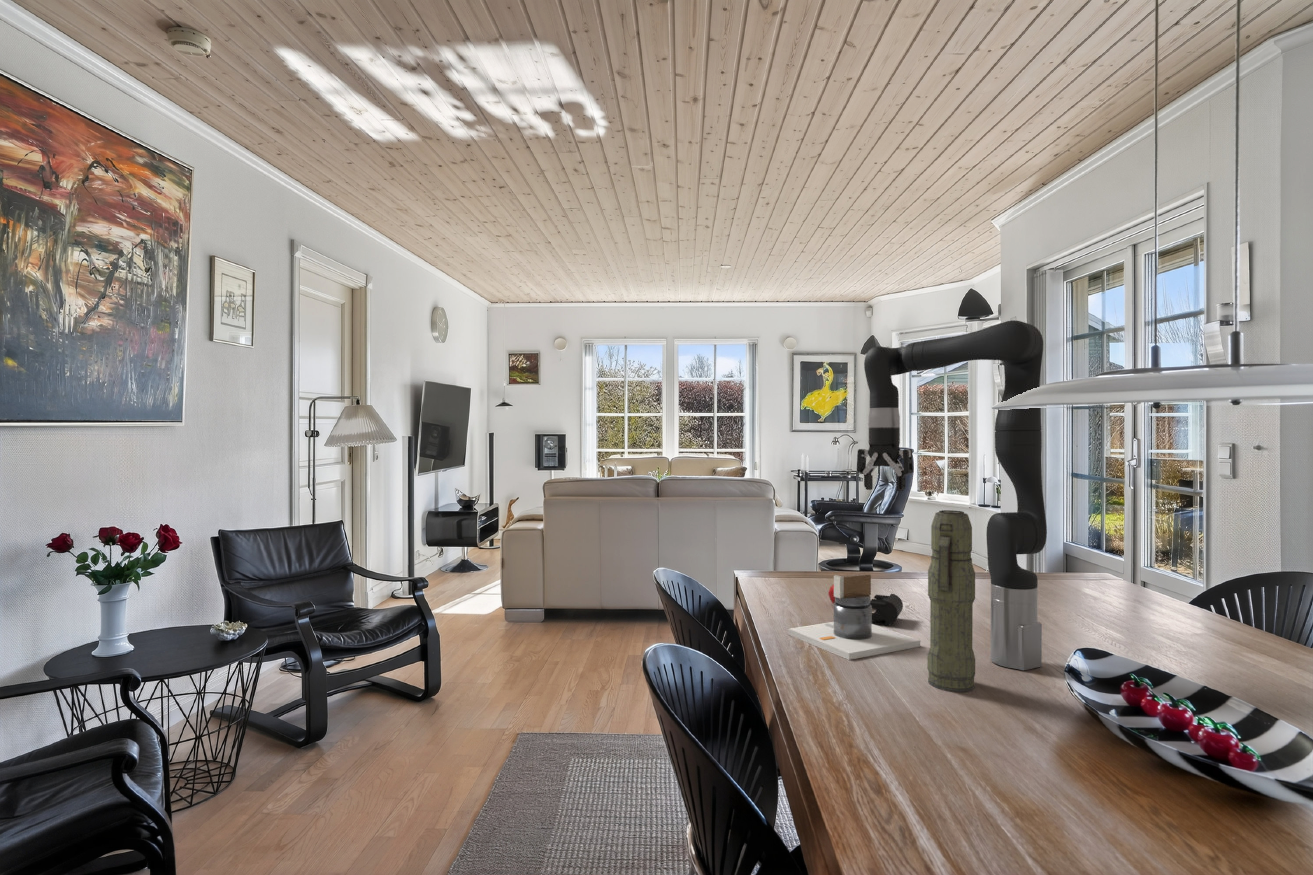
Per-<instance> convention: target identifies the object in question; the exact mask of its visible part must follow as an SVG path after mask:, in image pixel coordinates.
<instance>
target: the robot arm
mask: <svg viewBox="0 0 1313 875" xmlns="http://www.w3.org/2000/svg"><path fill="white" fill-rule="evenodd" d="M1043 351H1044V339H1043V335H1042V333H1041V332H1040V330H1039V328H1037V327H1036V326H1034V325H1033V324H1031V323H1027V322H1025V321H1021V320H1014V319H1010V320H1006V321H1003V322H1001V323H997V324H994V325H991V326H989V327H986V328H983V329H979V330H975V331H971V332H969V333H963V334H960V335H954V336H947V337H940V338H934V339H928V340H927V339H926V340H922V341H921V340H920V341H916V342H915V341H914V342H910V343H908V344H906V345H905V346H901V347H886V346H878V345H877V346H874V347H873V346H872V347H871V348H870V349H869V350H868V351H867V353H866V355H865V357H864V361H863V366H864V367H863V368H864V374H865V378H866V383H867V386H868V390H869V413H868V445H869V447H868V449H865V448H859V449H857V455H856V457H857V458H856V472H857V473H860V474H862V475H863V486H864V488H865V490H866V491H870V490H873V485H874V484H873V472H874V471H875V469H877V468H878V467H890V468H891V469H892V470H893V471H894V472H895V474H896V475H897V476H896V491H897V492H904V490H905V489H906V487H907V486H906V485H907V484H906V483H907V482H906V480H907V479H906V477H907V475H911V474H913V473H914V460H913V450H912V449H909V448H908V449H903V450H902V449H901V448H900V446H901V426H900V425H901V422H900V420H901V416H900V408H899V404H900V402H899V401H900V396H899V395H900V393H899V388H898V387H897V386H896V385H895V384H893V380H892V376H897V375H902V374H907V373H911V372H918V371H920V372H921V371H928V370H935V369H941V368H945V367H949V366H952V365H956V364H960V363H963V362H971V361H981V360H982V361H985V360H986V361H1001V362H1003V372H1004V390H1003V394H1002V397H1001V401H1000V403H1001V402H1003V401H1007V400H1008V399H1010V398H1012V397H1014V396H1016V395H1018V394H1022V393H1023V392H1026V391H1027V390H1031V389H1033V388H1037V387H1040V388H1041V386H1040V385H1041V384H1040V383H1041V382H1040V381H1041V372H1042V362H1043ZM994 424H995V425H994V451H995V455H996V457H997V460H998V461H999V464H1000V465H1001V467H1002V469H1003V470H1004V472H1005V473H1006V475H1007V476H1008V478H1009V480H1010V481H1011V483H1012V486H1013V488H1014V491H1015V495H1016V502H1017V505H1016V506H1017V508H1016V510H1017V512H1015V511H1014V512H1012V511H1011V512H996V513H993V514H992V515H991V516H990V518H989V519H988V521H987V525H986V549H987V550H986V551H987V567H988V568H987V569H988V571H989V576H990V662H992V663H993V664H995V665H998V666H1001V667H1003V668H1004V667H1005V668H1010V669H1017V670H1020V671H1028V670H1032V669H1036V668H1041V667H1042V666H1043V665H1042V664H1043V661H1042V658H1043V657H1042V656H1043V652H1042V651H1043V650H1042V648H1043V647H1042V644H1043V643H1042V642H1043V639H1042V636H1043V635H1042V634H1043V632H1042V630H1043V627H1042V626H1043V625H1042V622H1040V621H1038V586H1039V585H1038V579H1039V578H1038V576H1037V574H1036V573H1035V572H1033V571H1031V570H1027V569H1025V568H1023V567H1021V566H1020V565H1019V564H1018V559H1017V558H1018V556H1017V555H1034V554H1035V555H1036V554H1039V553H1040V552H1041V551H1043V549H1044V547H1046V542H1047V534H1048V532H1047V531H1048V529H1047V528H1048V527H1047V518H1046V510H1045V508H1046V507H1045V500H1044V493H1043V477H1042V476H1043V475H1042V471H1043V470H1042V447H1043V445H1042V444H1043V443H1042V441H1043V439H1042V438H1043V436H1042V433H1043V431H1042V409H1041V408H1029V409H1012V410H999V409H998V411H997V413H996V416H995V422H994ZM868 456H869V458H870V459H869V460H868V462H867V457H868ZM900 457H901V458H902V459H903V460H902V462H903V464H902V463H901V461H900V460H899V458H900Z"/></svg>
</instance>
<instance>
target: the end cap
mask: <svg viewBox="0 0 1313 875" xmlns="http://www.w3.org/2000/svg"><path fill="white" fill-rule="evenodd" d="M871 606H872V610H874V609H875V611H874V612H872V624H874V625H877V626H880V627H888V626H890V625H892V624H894V622H896V621H897V619H898V617H899V616H900V614H901V613H902V611H903V607H904V604H903V601H902V598H900V596H898V595H897V594H895V593H890V595H882V594H875V595H874V596H873V598H872V599H871Z"/></svg>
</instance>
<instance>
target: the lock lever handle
mask: <svg viewBox="0 0 1313 875" xmlns="http://www.w3.org/2000/svg"><path fill="white" fill-rule="evenodd" d="M833 584H834V597H835V604H836V605H839V606H842V607H848V608H865V607H869V606H870V605H871V600H872V599H871V595H872V593H871V592H872V587H871V586H872V575H871V574H869V573H867V572H861V573H849V574H836V575H835V574H834V575H833Z"/></svg>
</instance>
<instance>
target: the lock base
mask: <svg viewBox="0 0 1313 875" xmlns="http://www.w3.org/2000/svg"><path fill="white" fill-rule="evenodd" d="M872 613H873V608H872V606H871V605H870V606H869V607H865V608H848V607H842V606H839V605H836V604H835V603H834V604H833V621H829V622H823V623H817V624H812V625H806V626H799V627H798V626H797V627H792V628H788V636H791V637H794V638H795V639H797V640H800V641H802V642H805V643H807V644H809V645H812V646H815V647H817V648H819V649H820V650H821V649H822V650H823V651H826V652H829V653H832V654H833V655H836V656H838V657H841V658H844V659H845V660H847V661H851V660H856V659H861V658H866V657H872V656H878V655H883V654H888V653H893V652H898V651H899V652H900V651H902V650H903V651H904V650H907V649H914V648H920V647H921V640H920V639H917V638H916V637H912V636H909V635H906V634H903V633H900V632H897V631H895V630H891V629H888V628H886V627H884V626H880V625H874V624H872Z"/></svg>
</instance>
